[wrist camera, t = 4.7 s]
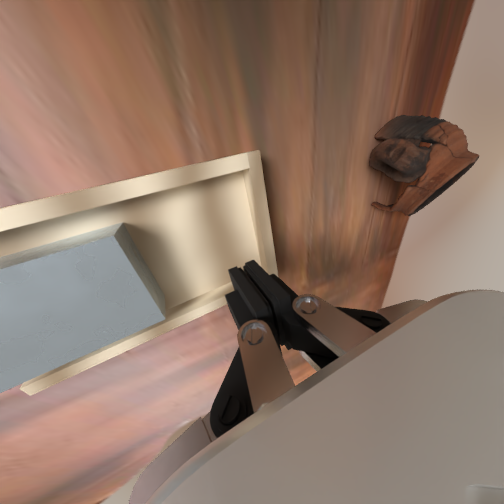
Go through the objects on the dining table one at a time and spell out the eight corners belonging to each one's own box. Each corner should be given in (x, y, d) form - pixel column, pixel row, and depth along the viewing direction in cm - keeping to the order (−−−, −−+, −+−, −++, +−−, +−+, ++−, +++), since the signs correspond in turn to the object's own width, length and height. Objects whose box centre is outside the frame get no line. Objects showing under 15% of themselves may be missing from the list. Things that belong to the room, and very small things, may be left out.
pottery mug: (420, 116, 22) (496, 149, 18) (361, 186, 28) (410, 221, 25) (387, 81, 15) (502, 123, 11) (319, 185, 21) (378, 234, 18)
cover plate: (122, 222, 13) (113, 235, 10) (164, 295, 16) (165, 319, 14) (-77, 278, 10) (-156, 316, 7) (25, 353, 13) (-6, 395, 11)
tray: (247, 152, 15) (259, 150, 13) (268, 269, 21) (278, 279, 19) (-131, 237, 9) (-204, 255, 7) (46, 367, 15) (30, 395, 13)
